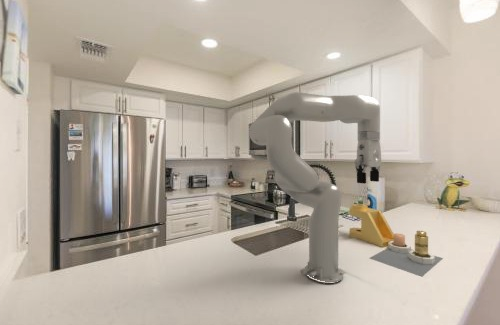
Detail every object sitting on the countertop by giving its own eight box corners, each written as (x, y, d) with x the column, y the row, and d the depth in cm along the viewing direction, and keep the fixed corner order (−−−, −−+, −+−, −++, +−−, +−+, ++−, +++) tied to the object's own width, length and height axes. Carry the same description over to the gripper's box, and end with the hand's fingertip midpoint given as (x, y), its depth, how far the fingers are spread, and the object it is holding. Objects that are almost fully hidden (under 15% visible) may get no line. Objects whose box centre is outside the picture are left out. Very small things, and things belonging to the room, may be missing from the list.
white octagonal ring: (429, 266, 81) (430, 260, 81) (406, 258, 87) (406, 253, 87) (436, 260, 86) (436, 255, 86) (413, 253, 92) (413, 248, 92)
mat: (421, 280, 75) (422, 276, 75) (368, 261, 88) (369, 258, 88) (443, 261, 88) (443, 258, 88) (394, 247, 101) (394, 244, 101)
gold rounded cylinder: (425, 263, 84) (426, 234, 83) (412, 259, 87) (413, 231, 86) (429, 260, 86) (429, 232, 86) (416, 256, 89) (417, 229, 89)
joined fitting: (405, 254, 91) (405, 239, 91) (385, 248, 97) (385, 234, 97) (412, 250, 95) (413, 235, 95) (393, 244, 101) (393, 231, 101)
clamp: (345, 236, 116) (345, 204, 116) (358, 233, 120) (358, 202, 120) (383, 250, 98) (383, 213, 98) (396, 246, 102) (397, 210, 102)
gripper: (366, 135, 79) (366, 185, 80) (389, 137, 89) (389, 181, 90) (346, 136, 85) (346, 183, 86) (369, 138, 95) (369, 179, 96)
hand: (368, 182), depth 88 cm, fingers open, 9 cm apart
